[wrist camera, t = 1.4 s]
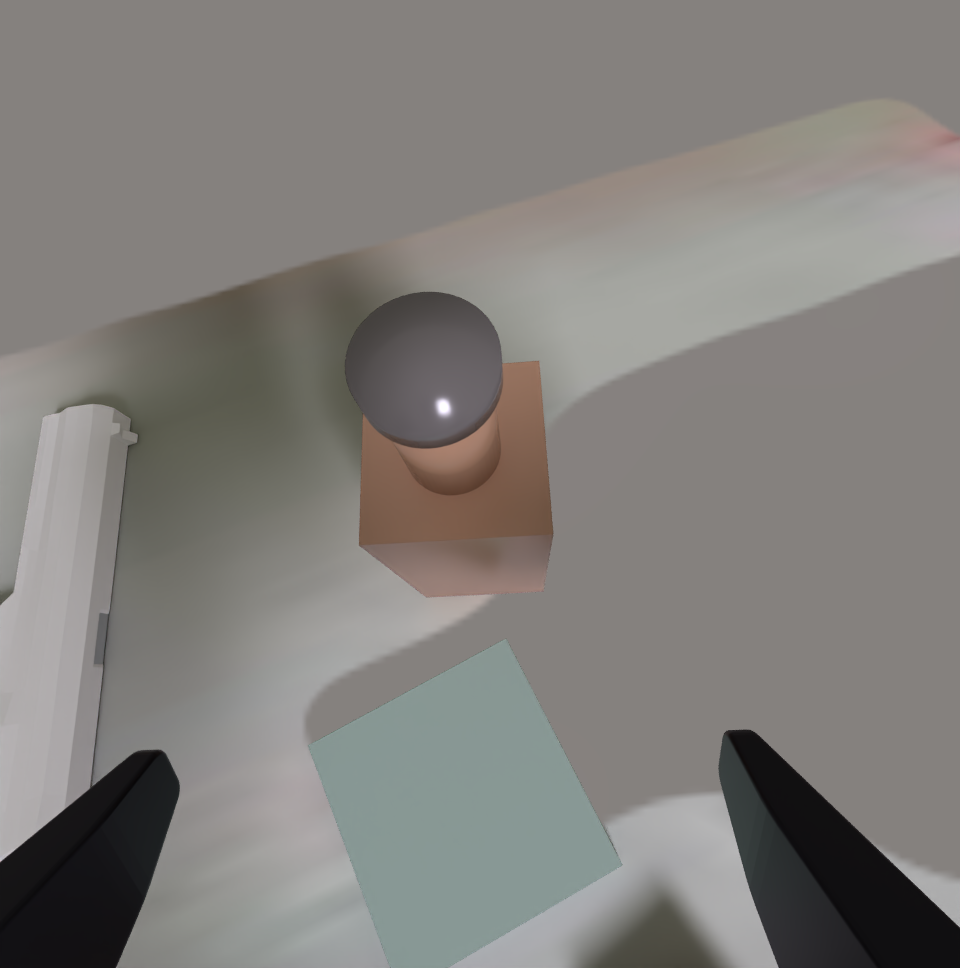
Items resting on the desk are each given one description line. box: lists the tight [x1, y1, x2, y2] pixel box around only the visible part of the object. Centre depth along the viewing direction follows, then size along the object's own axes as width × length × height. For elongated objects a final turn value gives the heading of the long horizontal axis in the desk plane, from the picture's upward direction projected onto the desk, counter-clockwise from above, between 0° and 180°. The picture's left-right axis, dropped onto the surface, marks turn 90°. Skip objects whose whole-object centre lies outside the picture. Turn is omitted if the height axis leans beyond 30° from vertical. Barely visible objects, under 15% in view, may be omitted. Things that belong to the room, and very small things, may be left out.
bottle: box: [345, 292, 553, 597], centre depth 17 cm, size 5×5×14 cm
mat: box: [308, 639, 622, 968], centre depth 20 cm, size 8×8×1 cm
